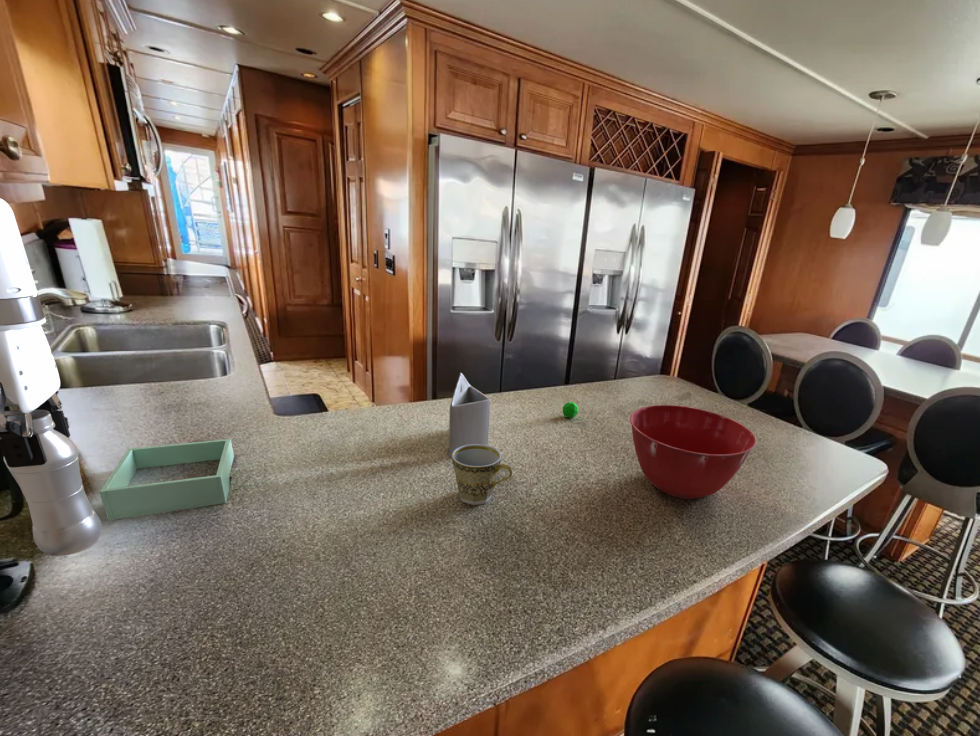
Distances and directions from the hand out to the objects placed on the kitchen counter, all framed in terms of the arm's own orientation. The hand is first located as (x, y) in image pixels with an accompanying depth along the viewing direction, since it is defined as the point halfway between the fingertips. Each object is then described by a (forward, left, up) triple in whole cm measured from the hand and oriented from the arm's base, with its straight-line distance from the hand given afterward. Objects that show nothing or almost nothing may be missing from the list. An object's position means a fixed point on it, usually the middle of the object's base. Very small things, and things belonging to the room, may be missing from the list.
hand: (41, 450), depth 58 cm
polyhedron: (+101, +38, -22) cm, 110 cm away
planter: (+66, +27, -22) cm, 75 cm away
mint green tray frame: (+6, +25, -21) cm, 33 cm away
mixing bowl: (+107, -6, -22) cm, 110 cm away
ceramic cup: (+60, +3, -22) cm, 64 cm away
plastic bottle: (0, 0, -15) cm, 15 cm away
